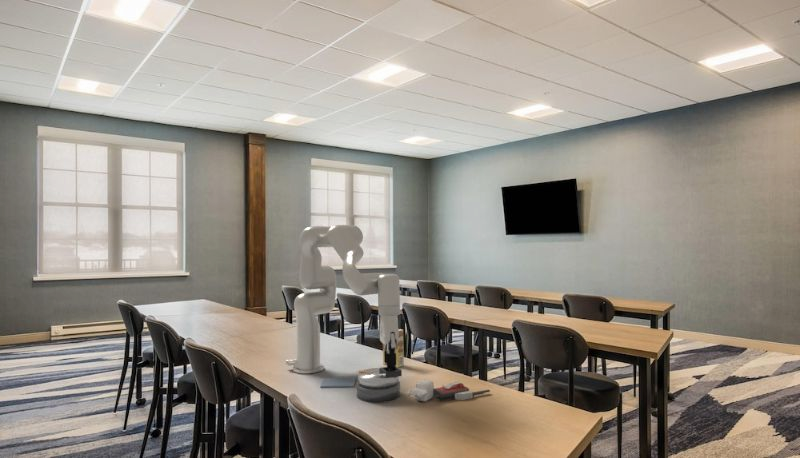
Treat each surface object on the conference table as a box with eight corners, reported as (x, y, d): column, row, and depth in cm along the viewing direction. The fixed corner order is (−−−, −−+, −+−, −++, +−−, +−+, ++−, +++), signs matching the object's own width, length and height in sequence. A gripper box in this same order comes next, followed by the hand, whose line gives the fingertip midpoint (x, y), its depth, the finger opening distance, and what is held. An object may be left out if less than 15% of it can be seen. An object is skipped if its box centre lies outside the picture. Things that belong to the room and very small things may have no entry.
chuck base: (355, 403, 153) (355, 390, 153) (357, 388, 168) (357, 377, 168) (401, 402, 153) (401, 389, 153) (399, 387, 168) (399, 376, 168)
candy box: (404, 365, 197) (404, 329, 198) (397, 368, 194) (397, 330, 195) (388, 362, 203) (388, 326, 204) (382, 364, 200) (381, 328, 200)
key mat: (320, 387, 169) (320, 386, 169) (323, 379, 179) (323, 377, 179) (353, 387, 169) (353, 385, 169) (355, 379, 179) (355, 377, 179)
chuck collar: (366, 391, 151) (366, 375, 152) (352, 379, 164) (352, 365, 164) (405, 385, 157) (405, 370, 157) (389, 374, 170) (389, 360, 170)
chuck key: (387, 374, 158) (386, 344, 159) (387, 373, 161) (386, 343, 162) (396, 374, 158) (395, 344, 159) (395, 372, 161) (394, 343, 162)
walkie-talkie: (442, 405, 151) (491, 395, 160) (441, 391, 151) (491, 382, 160) (428, 397, 159) (476, 388, 168) (428, 384, 159) (476, 376, 168)
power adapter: (417, 407, 148) (417, 389, 148) (405, 404, 151) (404, 386, 151) (435, 398, 157) (435, 380, 157) (423, 395, 160) (423, 378, 160)
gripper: (374, 307, 168) (375, 359, 167) (382, 313, 152) (384, 370, 151) (394, 306, 170) (395, 357, 169) (405, 312, 154) (406, 369, 153)
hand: (390, 363), depth 160 cm, fingers closed on chuck key, 3 cm apart
